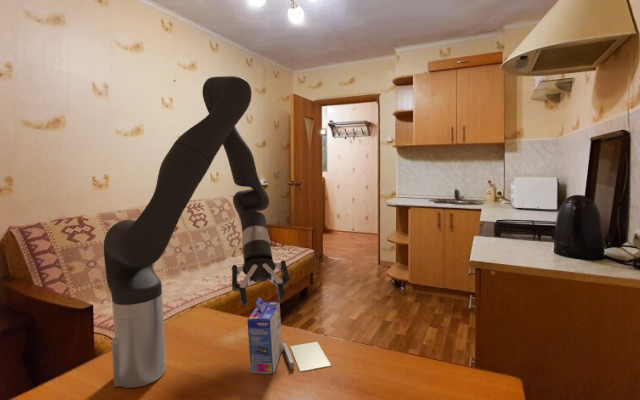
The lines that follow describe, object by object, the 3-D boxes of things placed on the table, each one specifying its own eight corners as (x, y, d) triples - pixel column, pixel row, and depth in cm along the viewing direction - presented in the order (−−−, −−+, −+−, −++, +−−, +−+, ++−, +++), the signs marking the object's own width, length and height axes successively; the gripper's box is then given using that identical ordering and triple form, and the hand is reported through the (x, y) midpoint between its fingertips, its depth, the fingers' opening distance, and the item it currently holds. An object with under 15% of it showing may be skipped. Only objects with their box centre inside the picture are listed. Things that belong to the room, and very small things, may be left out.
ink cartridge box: (259, 349, 82) (258, 291, 80) (282, 350, 81) (281, 292, 80) (248, 374, 72) (246, 308, 71) (273, 374, 71) (272, 308, 70)
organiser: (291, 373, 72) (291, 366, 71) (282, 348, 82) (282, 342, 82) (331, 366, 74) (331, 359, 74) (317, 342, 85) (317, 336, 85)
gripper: (229, 240, 87) (233, 299, 77) (283, 236, 91) (294, 292, 81) (229, 255, 92) (233, 312, 82) (280, 251, 96) (290, 305, 86)
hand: (263, 302), depth 82 cm, fingers open, 8 cm apart
